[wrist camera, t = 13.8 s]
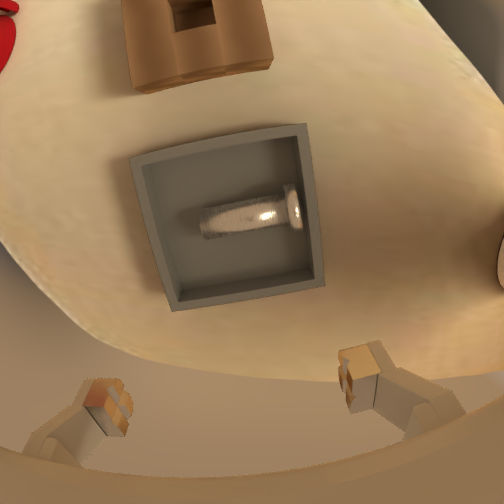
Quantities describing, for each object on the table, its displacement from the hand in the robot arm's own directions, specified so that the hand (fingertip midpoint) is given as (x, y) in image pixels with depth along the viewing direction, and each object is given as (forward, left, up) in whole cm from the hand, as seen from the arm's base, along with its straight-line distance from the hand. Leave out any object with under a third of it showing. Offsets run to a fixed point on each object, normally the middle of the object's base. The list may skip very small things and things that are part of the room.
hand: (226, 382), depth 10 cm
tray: (0, 0, -23) cm, 23 cm away
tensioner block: (0, -20, -23) cm, 30 cm away
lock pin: (+3, 0, -21) cm, 21 cm away
